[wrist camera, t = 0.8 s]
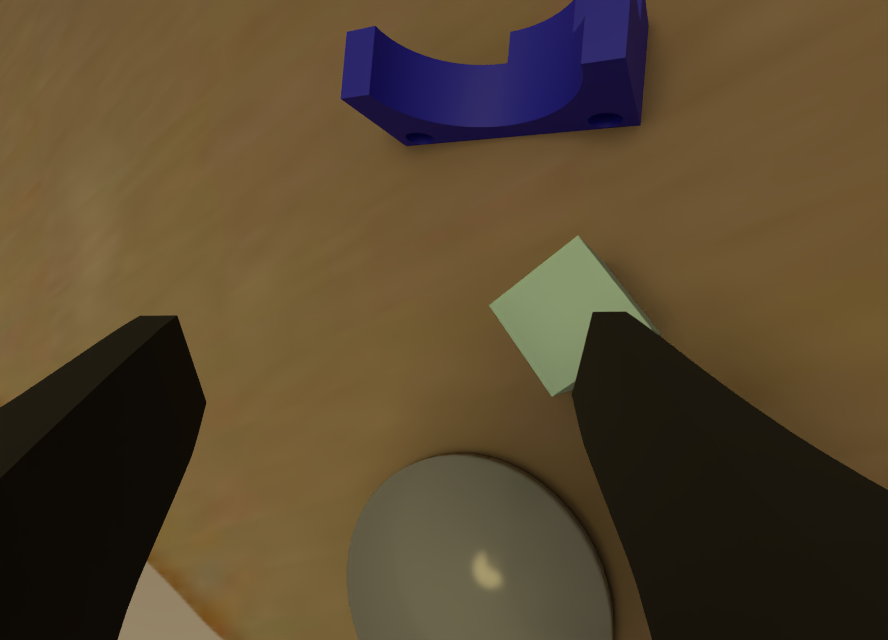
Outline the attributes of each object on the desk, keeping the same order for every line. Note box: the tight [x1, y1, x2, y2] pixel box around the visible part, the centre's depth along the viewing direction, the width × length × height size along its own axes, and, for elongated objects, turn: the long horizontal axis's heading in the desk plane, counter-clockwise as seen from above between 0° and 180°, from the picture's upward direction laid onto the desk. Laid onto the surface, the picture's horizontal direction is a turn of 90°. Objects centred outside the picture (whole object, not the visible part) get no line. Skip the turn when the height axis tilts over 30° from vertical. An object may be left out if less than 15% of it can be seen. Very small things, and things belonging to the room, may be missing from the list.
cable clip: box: [341, 0, 648, 146], centre depth 23 cm, size 12×4×6 cm, turn 84°
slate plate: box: [347, 453, 614, 640], centre depth 24 cm, size 13×13×2 cm
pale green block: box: [489, 236, 661, 397], centre depth 20 cm, size 4×4×6 cm
